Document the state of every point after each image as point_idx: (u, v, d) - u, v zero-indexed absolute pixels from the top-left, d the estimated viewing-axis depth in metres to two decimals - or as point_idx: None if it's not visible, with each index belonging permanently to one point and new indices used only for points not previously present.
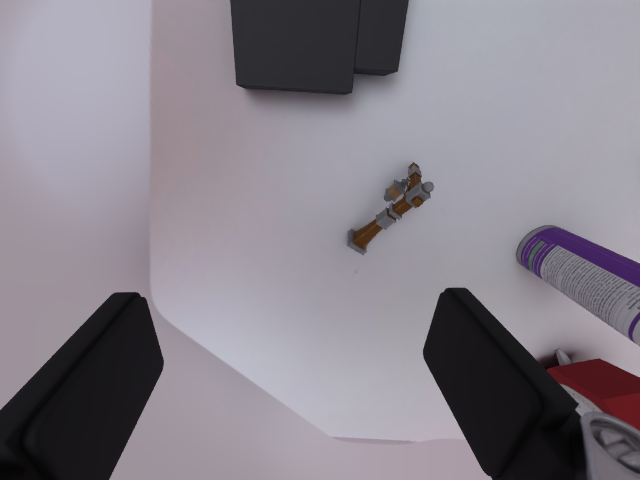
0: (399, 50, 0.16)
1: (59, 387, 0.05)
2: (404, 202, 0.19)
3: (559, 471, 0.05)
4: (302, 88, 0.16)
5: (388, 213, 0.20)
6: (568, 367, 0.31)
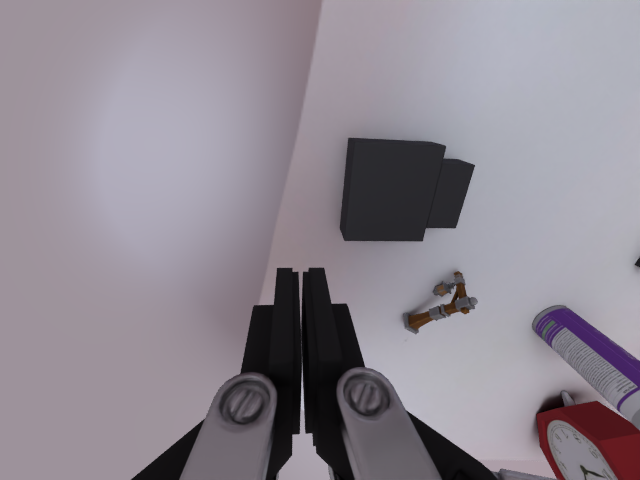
0: (458, 217, 0.23)
1: (295, 330, 0.07)
2: (454, 308, 0.26)
3: (321, 418, 0.06)
4: (388, 240, 0.23)
5: (440, 312, 0.27)
6: (571, 409, 0.38)
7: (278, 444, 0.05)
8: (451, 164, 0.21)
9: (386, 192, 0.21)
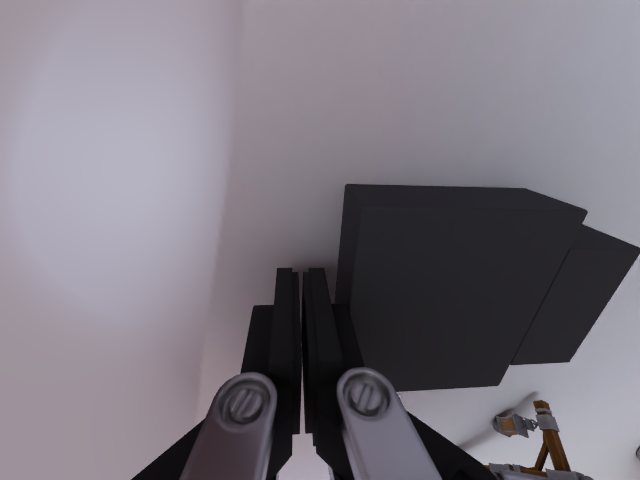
0: (579, 344, 0.11)
1: (295, 330, 0.07)
2: None
3: (321, 418, 0.06)
4: (430, 389, 0.11)
5: None
6: None
7: (278, 444, 0.05)
8: (589, 248, 0.09)
9: (434, 310, 0.09)
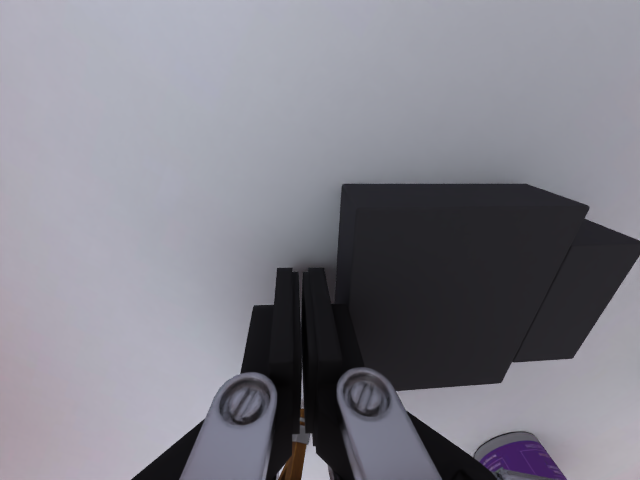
0: (582, 340, 0.11)
1: (295, 331, 0.07)
2: None
3: (321, 418, 0.06)
4: (432, 387, 0.11)
5: None
6: None
7: (278, 444, 0.05)
8: (591, 244, 0.09)
9: (435, 310, 0.09)
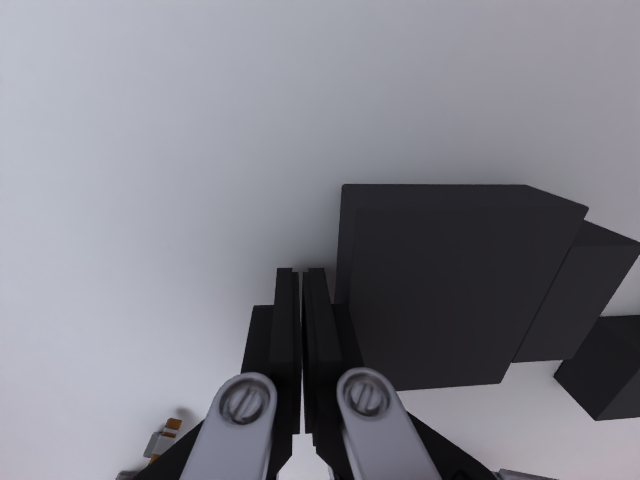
0: (581, 341, 0.11)
1: (295, 330, 0.07)
2: None
3: (321, 418, 0.06)
4: (432, 388, 0.11)
5: None
6: None
7: (278, 444, 0.05)
8: (590, 245, 0.09)
9: (434, 310, 0.09)
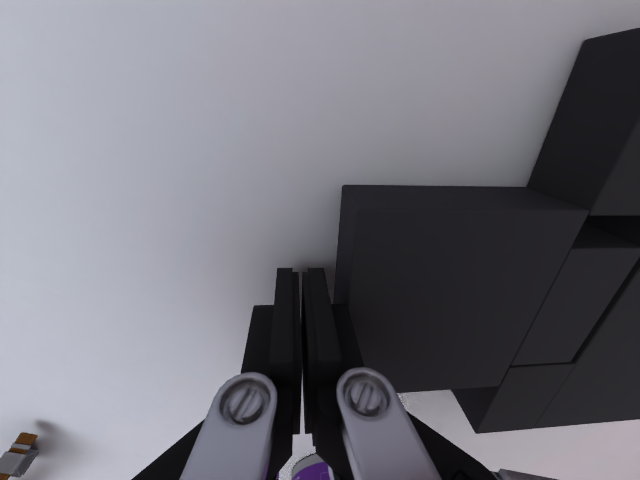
0: (580, 344, 0.11)
1: (295, 331, 0.07)
2: None
3: (321, 418, 0.06)
4: (430, 390, 0.11)
5: None
6: None
7: (278, 444, 0.05)
8: (590, 248, 0.09)
9: (434, 312, 0.09)
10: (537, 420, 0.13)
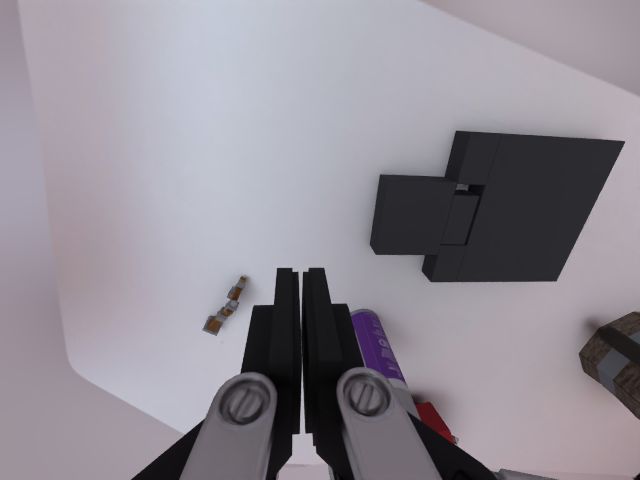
0: (466, 235, 0.29)
1: (295, 330, 0.07)
2: None
3: (321, 418, 0.06)
4: (411, 254, 0.29)
5: None
6: None
7: (278, 444, 0.05)
8: (461, 195, 0.27)
9: (410, 217, 0.27)
10: (456, 276, 0.31)
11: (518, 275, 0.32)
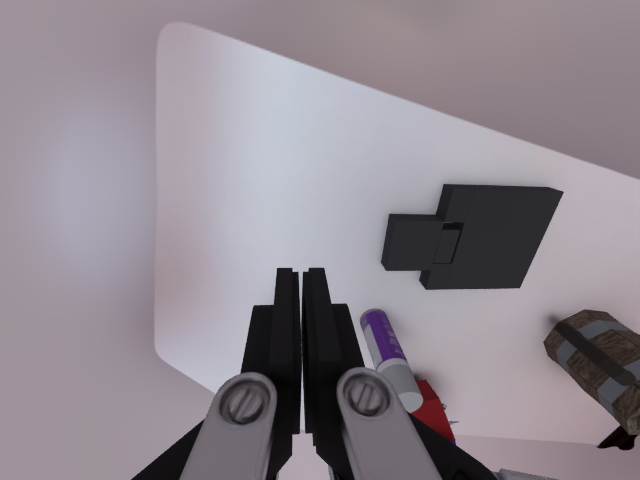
0: (451, 256, 0.40)
1: (295, 330, 0.07)
2: None
3: (321, 418, 0.06)
4: (411, 270, 0.40)
5: None
6: None
7: (278, 444, 0.05)
8: (447, 229, 0.38)
9: (411, 245, 0.38)
10: (445, 285, 0.42)
11: (490, 284, 0.43)
